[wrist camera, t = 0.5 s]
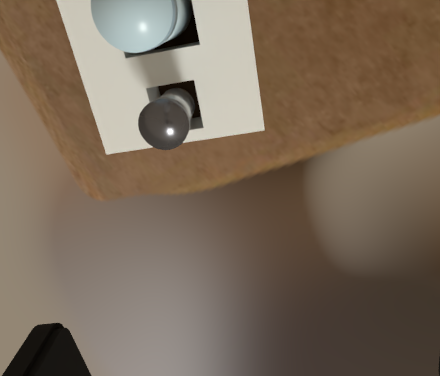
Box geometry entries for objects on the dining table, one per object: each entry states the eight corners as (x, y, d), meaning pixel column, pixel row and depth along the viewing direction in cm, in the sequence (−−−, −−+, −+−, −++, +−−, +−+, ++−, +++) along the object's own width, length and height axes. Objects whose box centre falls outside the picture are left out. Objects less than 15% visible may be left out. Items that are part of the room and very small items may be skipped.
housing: (39, -126, 28) (9, -145, 25) (223, -175, 26) (220, -203, 23) (120, 139, 37) (106, 154, 33) (262, 117, 35) (264, 130, 32)
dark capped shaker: (151, 87, 32) (132, 104, 26) (193, 80, 31) (182, 96, 26) (162, 129, 33) (145, 153, 28) (202, 122, 33) (193, 145, 27)
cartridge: (127, -18, 31) (78, -27, 22) (185, -30, 30) (159, -45, 21) (143, 45, 33) (104, 60, 24) (197, 34, 32) (178, 45, 23)
